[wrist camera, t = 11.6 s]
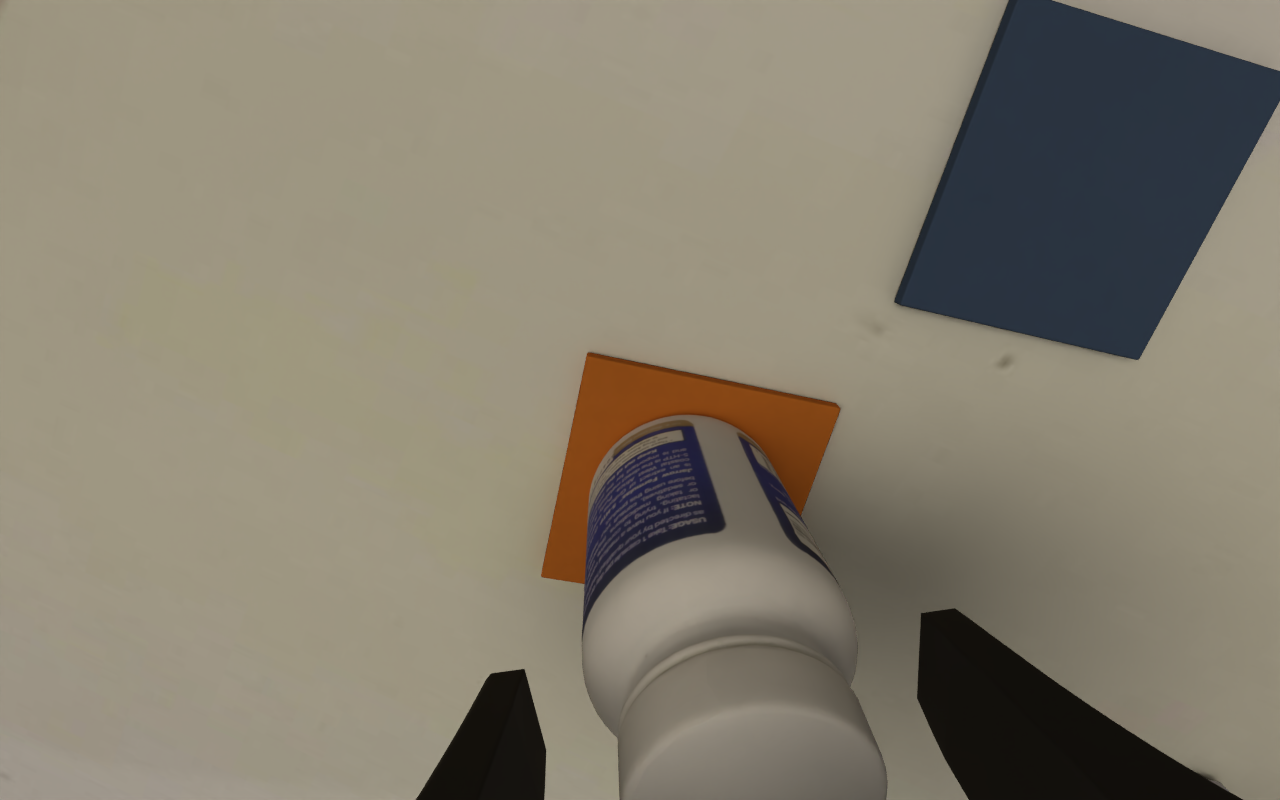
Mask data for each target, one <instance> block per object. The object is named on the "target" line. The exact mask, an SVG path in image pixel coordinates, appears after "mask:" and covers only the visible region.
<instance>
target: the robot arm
mask: <svg viewBox="0 0 1280 800" xmlns="http://www.w3.org/2000/svg"><path fill="white" fill-rule="evenodd" d="M917 699H918V701H919V703H920V706H921V708H922V710H923V712H924V715H925V717H926V719H927V721H928V724H929V726H930V728H931V730H932V733H933V735H934V737H935V739H936V741H937V743H938V745H939V747H940V750H941V752H942V754H943V756H944V758H945V760H946V761H947V763H948V765H949V767H950V768H951V770H952V772H953V774H954V775H955V777H956V779H957V780H958V782H959V784H960V785H961V787H962V789H963V791H964V792H965V794H966V796H967V797H968V799H969V800H1242V799H1241V798H1239V797H1237V796H1236V795H1234V794H1232V793H1230V792H1229V791H1228V790H1227V789H1226V788H1225V787H1224V786H1223V785H1222V784H1221V783H1220V782H1218V781H1212V780H1208V779H1206V778H1204V777H1202V776H1201V775H1199V774H1197V773H1195V772H1194V771H1192V770H1190V769H1189V768H1187V767H1185V766H1184V765H1182V764H1180V763H1179V762H1177V761H1175V760H1174V759H1172V758H1170V757H1169V756H1167V755H1165V754H1164V753H1162V752H1161V751H1159V750H1157V749H1156V748H1154V747H1153V746H1151V745H1150V744H1148V743H1147V742H1145V741H1143V740H1142V739H1140V738H1139V737H1137V736H1136V735H1134V734H1132V733H1131V732H1129V731H1128V730H1126V729H1125V728H1123V727H1122V726H1120V725H1118V724H1117V723H1115V722H1114V721H1112V720H1111V719H1109V718H1108V717H1106V716H1105V715H1103V714H1102V713H1100V712H1099V711H1097V710H1096V709H1094V708H1093V707H1091V706H1090V705H1088V704H1087V703H1085V702H1084V701H1082V700H1081V699H1080V698H1078V697H1077V696H1075V695H1074V694H1072V693H1071V692H1069V691H1068V690H1067V689H1065V688H1064V687H1062V686H1061V685H1059V684H1058V683H1057V682H1055V681H1054V680H1052V679H1051V678H1050V677H1048V676H1047V675H1045V674H1044V673H1043V672H1041V671H1040V670H1038V669H1037V668H1036V667H1034V666H1033V665H1031V664H1030V663H1029V662H1027V661H1026V660H1025V659H1023V658H1022V657H1020V656H1019V655H1018V654H1016V653H1015V652H1014V651H1012V650H1011V649H1010V648H1008V647H1007V646H1005V645H1004V644H1003V643H1001V642H1000V641H999V640H997V639H996V638H995V637H993V636H992V635H991V634H989V633H988V632H987V631H985V630H984V629H982V628H981V627H980V626H978V625H977V624H976V623H974V622H973V621H972V620H970V619H969V618H968V617H966V616H965V615H963V614H962V613H961V612H959V611H958V610H956V609H947V610H940V611H933V612H926V613H921V627H920V648H919V670H918V691H917ZM545 768H546V748H545V744H544V740H543V736H542V733H541V729H540V725H539V722H538V718H537V714H536V710H535V707H534V703H533V699H532V695H531V692H530V688H529V684H528V680H527V677H526V673H525V669H521V670H514V671H506V672H499V673H492V674H490V676H489V677H488V678H487V679H486V681H485V683H484V685H483V686H482V688H481V690H480V692H479V694H478V696H477V697H476V699H475V701H474V703H473V705H472V707H471V708H470V710H469V712H468V714H467V716H466V717H465V719H464V721H463V723H462V724H461V726H460V728H459V730H458V731H457V733H456V735H455V736H454V738H453V740H452V742H451V743H450V745H449V747H448V748H447V750H446V752H445V753H444V755H443V757H442V758H441V760H440V762H439V763H438V765H437V766H436V768H435V770H434V771H433V773H432V775H431V776H430V778H429V780H428V781H427V783H426V784H425V786H424V788H423V789H422V791H421V793H420V794H419V796H418V797H417V799H416V800H544V792H545Z"/></svg>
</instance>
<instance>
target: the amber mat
mask: <svg viewBox="0 0 1280 800" xmlns="http://www.w3.org/2000/svg"><path fill="white" fill-rule="evenodd" d="M839 412H840V407H839V406H838V405H837V404H836V403H831V402H826V401H822V400H817V399H812V398H807V397H802V396H797V395H793V394H788V393H783V392H778V391H773V390H768V389H764V388H759V387H754V386H749V385H744V384H739V383H735V382H730V381H725V380H720V379H715V378H710V377H706V376H701V375H696V374H691V373H686V372H681V371H677V370H672V369H667V368H662V367H657V366H652V365H648V364H643V363H638V362H633V361H628V360H623V359H618V358H614V357H609V356H604V355H599V354H594V353H587V357H586V361H585V366H584V371H583V376H582V381H581V385H580V390H579V395H578V400H577V405H576V410H575V414H574V419H573V424H572V429H571V434H570V438H569V443H568V448H567V453H566V458H565V462H564V467H563V472H562V477H561V482H560V487H559V491H558V496H557V501H556V506H555V511H554V515H553V520H552V525H551V530H550V535H549V539H548V544H547V549H546V554H545V559H544V564H543V568H542V574H541V576H542V577H544V578H551V579H557V580H563V581H570V582H576V583H582V584H585V569H586V546H587V521H588V505H589V493H590V488H591V484H592V480H593V477H594V475H595V473H596V470H597V468H598V466H599V464H600V463H601V461H602V459H603V458H604V456H605V455H606V454H607V452H608V451H609V450H610V449H611V448H612V446H613V445H614V444H615V443H617V442H618V441H619V440H620V439H621V438H622V437H623V436H625V435H626V434H628V433H629V432H631V431H632V430H634V429H635V428H637V427H639V426H641V425H643V424H646V423H648V422H651V421H653V420H657V419H660V418H664V417H669V416H675V415H699V416H706V417H712V418H715V419H718V420H721V421H723V422H726V423H728V424H730V425H732V426H734V427H736V428H738V429H739V430H741V431H742V432H744V433H745V434H747V435H748V436H749V437H750V438H752V439H753V440H754V441H755V442H756V443H757V444H758V445H759V446H760V448H761V449H762V450H763V451H764V453H765V454H766V456H767V458H768V459H769V461H770V462H771V464H772V466H773V467H774V469H775V471H776V473H777V475H778V477H779V478H780V480H781V482H782V484H783V486H784V487H785V489H786V491H787V493H788V494H789V496H790V498H791V500H792V502H793V504H794V506H795V507H796V509H797V511H798V513H799V514H800V516H801V513H802V511H803V508H804V505H805V503H806V500H807V497H808V495H809V492H810V489H811V487H812V484H813V481H814V479H815V476H816V473H817V471H818V468H819V465H820V463H821V460H822V457H823V455H824V452H825V449H826V447H827V444H828V441H829V439H830V436H831V433H832V431H833V428H834V425H835V423H836V420H837V417H838V415H839Z"/></svg>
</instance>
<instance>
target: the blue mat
mask: <svg viewBox="0 0 1280 800" xmlns="http://www.w3.org/2000/svg"><path fill="white" fill-rule="evenodd" d="M1279 101H1280V71H1277V70H1274V69H1271V68H1267V67H1264V66H1261V65H1258V64H1255V63H1251V62H1248V61H1245V60H1242V59H1239V58H1235V57H1232V56H1229V55H1226V54H1222V53H1219V52H1216V51H1213V50H1210V49H1206V48H1203V47H1200V46H1197V45H1194V44H1190V43H1187V42H1184V41H1181V40H1177V39H1174V38H1171V37H1168V36H1165V35H1161V34H1158V33H1155V32H1152V31H1149V30H1145V29H1142V28H1139V27H1136V26H1133V25H1129V24H1126V23H1123V22H1120V21H1116V20H1113V19H1110V18H1107V17H1104V16H1100V15H1097V14H1094V13H1091V12H1088V11H1084V10H1081V9H1078V8H1075V7H1071V6H1068V5H1065V4H1062V3H1059V2H1055V1H1052V0H1009V2H1008V5H1007V8H1006V10H1005V13H1004V15H1003V18H1002V21H1001V23H1000V26H999V28H998V31H997V34H996V36H995V39H994V42H993V44H992V47H991V49H990V52H989V55H988V57H987V60H986V62H985V65H984V68H983V70H982V73H981V76H980V78H979V81H978V83H977V86H976V89H975V91H974V94H973V96H972V99H971V102H970V104H969V107H968V110H967V112H966V115H965V117H964V120H963V123H962V125H961V128H960V131H959V133H958V136H957V138H956V141H955V144H954V146H953V149H952V151H951V154H950V157H949V159H948V162H947V165H946V167H945V170H944V172H943V175H942V178H941V180H940V183H939V185H938V188H937V191H936V193H935V196H934V199H933V201H932V204H931V206H930V209H929V212H928V214H927V217H926V219H925V222H924V225H923V227H922V230H921V233H920V235H919V238H918V240H917V243H916V246H915V248H914V251H913V253H912V256H911V259H910V261H909V264H908V267H907V269H906V272H905V274H904V277H903V280H902V282H901V285H900V287H899V290H898V293H897V295H896V298H895V303H897V304H899V305H902V306H906V307H911V308H915V309H919V310H924V311H928V312H932V313H937V314H941V315H945V316H950V317H954V318H958V319H963V320H967V321H971V322H975V323H980V324H984V325H988V326H993V327H997V328H1001V329H1006V330H1010V331H1014V332H1019V333H1023V334H1027V335H1032V336H1036V337H1040V338H1044V339H1049V340H1053V341H1057V342H1062V343H1066V344H1070V345H1075V346H1079V347H1083V348H1088V349H1092V350H1096V351H1101V352H1105V353H1109V354H1113V355H1118V356H1122V357H1126V358H1131V359H1135V360H1138V359H1139V358H1140V357H1141V355H1142V353H1143V351H1144V349H1145V347H1146V346H1147V344H1148V342H1149V340H1150V338H1151V336H1152V335H1153V333H1154V331H1155V329H1156V327H1157V325H1158V324H1159V322H1160V320H1161V318H1162V316H1163V314H1164V312H1165V311H1166V309H1167V307H1168V305H1169V303H1170V301H1171V300H1172V298H1173V296H1174V294H1175V292H1176V290H1177V289H1178V287H1179V285H1180V283H1181V281H1182V279H1183V278H1184V276H1185V274H1186V272H1187V270H1188V268H1189V267H1190V265H1191V263H1192V261H1193V259H1194V257H1195V256H1196V254H1197V252H1198V250H1199V248H1200V246H1201V245H1202V243H1203V241H1204V239H1205V237H1206V235H1207V234H1208V232H1209V230H1210V228H1211V226H1212V224H1213V223H1214V221H1215V219H1216V217H1217V215H1218V213H1219V212H1220V210H1221V208H1222V206H1223V204H1224V202H1225V201H1226V199H1227V197H1228V195H1229V193H1230V191H1231V190H1232V188H1233V186H1234V184H1235V182H1236V180H1237V179H1238V177H1239V175H1240V173H1241V171H1242V169H1243V168H1244V166H1245V164H1246V162H1247V160H1248V158H1249V157H1250V155H1251V153H1252V151H1253V149H1254V147H1255V145H1256V144H1257V142H1258V140H1259V138H1260V136H1261V134H1262V133H1263V131H1264V129H1265V127H1266V125H1267V123H1268V122H1269V120H1270V118H1271V116H1272V114H1273V112H1274V111H1275V109H1276V107H1277V105H1278V103H1279Z"/></svg>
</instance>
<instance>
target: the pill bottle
mask: <svg viewBox="0 0 1280 800" xmlns="http://www.w3.org/2000/svg"><path fill="white" fill-rule="evenodd" d="M857 651H858V642H857V633H856V627H855V623H854V619H853V616H852V612H851V610H850V607H849V605H848V603H847V601H846V598H845V596H844V594H843V592H842V590H841V588H840V586H839V584H838V582H837V580H836V578H835V577H834V575H833V573H832V571H831V570H830V568H829V566H828V564H827V562H826V561H825V559H824V557H823V556H822V554H821V552H820V550H819V548H818V547H817V545H816V543H815V541H814V540H813V538H812V536H811V534H810V532H809V530H808V529H807V527H806V525H805V523H804V521H803V520H802V518H801V516H800V514H799V513H798V511H797V509H796V507H795V506H794V504H793V502H792V500H791V498H790V496H789V494H788V493H787V491H786V489H785V487H784V486H783V484H782V482H781V480H780V478H779V477H778V475H777V473H776V471H775V469H774V467H773V466H772V464H771V462H770V461H769V459H768V458H767V456H766V454H765V453H764V451H763V450H762V449H761V448H760V446H759V445H758V444H757V443H756V442H755V441H754V440H753V439H752V438H750V437H749V436H748V435H747V434H745V433H744V432H742V431H741V430H739V429H738V428H736V427H734V426H732V425H730V424H728V423H726V422H723V421H721V420H718V419H715V418H712V417H706V416H699V415H675V416H669V417H664V418H660V419H657V420H653V421H651V422H648V423H646V424H643V425H641V426H639V427H637V428H635V429H634V430H632V431H631V432H629V433H628V434H626V435H625V436H623V437H622V438H621V439H620V440H619V441H618V442H617V443H615V444H614V445H613V446H612V448H611V449H610V450H609V451H608V452H607V454H606V455H605V456H604V458H603V459H602V461H601V463H600V464H599V466H598V468H597V470H596V473H595V475H594V477H593V480H592V484H591V488H590V493H589V505H588V521H587V546H586V569H585V586H584V611H583V629H582V666H583V674H584V680H585V685H586V688H587V691H588V694H589V697H590V699H591V702H592V704H593V706H594V708H595V710H596V712H597V714H598V715H599V717H600V718H601V720H602V721H603V722H604V724H605V725H606V726H607V727H608V728H609V730H610V731H611V732H612V733H613V734H614V735H615V736H616V737H617V738H618V759H619V762H618V771H619V797H620V800H886V795H887V774H886V768H885V764H884V761H883V758H882V755H881V752H880V750H879V748H878V745H877V743H876V741H875V738H874V736H873V734H872V731H871V729H870V727H869V724H868V722H867V720H866V717H865V715H864V712H863V710H862V708H861V705H860V703H859V700H858V698H857V697H856V695H855V693H854V691H853V690H852V689H851V688H850V686H851V683H852V680H853V677H854V674H855V669H856V662H857Z"/></svg>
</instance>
